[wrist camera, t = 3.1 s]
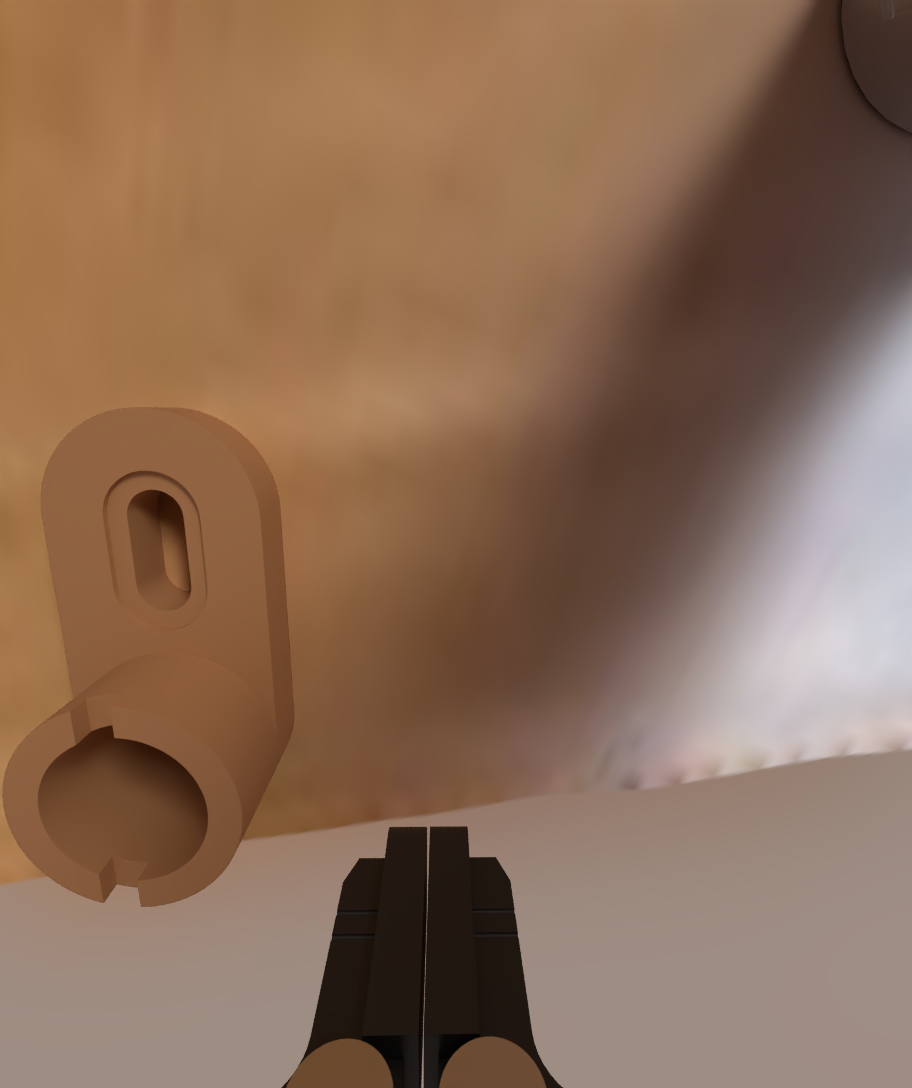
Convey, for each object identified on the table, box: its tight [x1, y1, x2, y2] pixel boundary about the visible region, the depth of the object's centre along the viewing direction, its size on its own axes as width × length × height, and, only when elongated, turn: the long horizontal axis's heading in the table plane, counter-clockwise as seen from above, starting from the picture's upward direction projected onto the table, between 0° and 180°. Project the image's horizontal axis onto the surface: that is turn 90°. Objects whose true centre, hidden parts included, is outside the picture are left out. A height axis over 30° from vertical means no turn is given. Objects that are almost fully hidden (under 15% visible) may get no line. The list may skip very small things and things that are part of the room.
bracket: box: [2, 408, 294, 907], centre depth 21 cm, size 18×8×7 cm, turn 179°
